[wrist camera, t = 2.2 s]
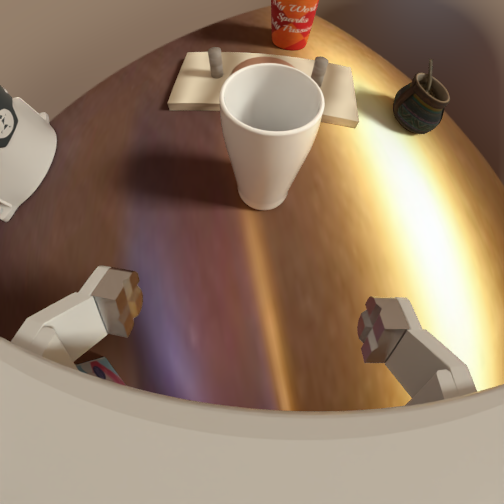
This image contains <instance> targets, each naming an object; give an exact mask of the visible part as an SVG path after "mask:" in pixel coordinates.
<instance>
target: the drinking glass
mask: <svg viewBox="0 0 504 504" xmlns="http://www.w3.org/2000/svg"><path fill="white" fill-rule="evenodd" d="M219 102H220V117H221V126H222V132H223V137H224V141H225V145H226V148H227V152H228V155H229V158H230V161H231V165H232V168H233V171H234V175H235V178H236V182H237V187H238V192H239V195H240V197H241V199H242V200H243V201H244V203H246V204H247V205H248V206H250V207H251V208H254V209H257V210H270V209H273V208H275V207H277V206H279V205H280V204H281V203H282V202H283V201H284V199H285V198H286V196H287V193H288V190H289V188H290V186H291V184H292V183H293V181H294V179H295V177H296V175H297V173H298V172H299V170H300V168H301V166H302V164H303V163H304V161H305V159H306V157H307V155H308V153H309V151H310V149H311V147H312V145H313V143H314V140H315V138H316V135H317V132H318V129H319V126H320V123H321V119H322V115H323V111H324V107H325V101H324V96H323V93H322V91H321V89H320V87H319V86H318V84H317V83H316V82H315V81H314V80H313V79H312V78H311V77H310V76H308V75H307V74H305V73H304V72H302V71H300V70H298V69H296V68H293V67H290V66H287V65H283V64H277V63H260V64H254V65H250V66H246V67H244V68H241V69H239V70H237V71H236V72H234V73H233V74H232V75H230V76H229V77H228V78H227V79H226V81H225V82H224V83H223V85H222V87H221V90H220V94H219Z"/></svg>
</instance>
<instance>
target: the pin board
mask: <svg viewBox="0 0 504 504" xmlns="http://www.w3.org/2000/svg"><path fill="white" fill-rule="evenodd" d="M260 63H277V64H283V65H287V66H290V67H293V68H296V69H298V70H300V71H302V72H304V73H305V74H307V75H308V76H310V77H311V78H312V79H313V80H314V81H315V82H316V83H317V84H318V86H319V87H320V89H321V91H322V93H323V96H324V101H325V107H324V111H323V115H322V119H321V122H325V123H331V124H336V125H342V126H347V127H351V128H356V126H357V124H358V122H359V119H358V111H357V104H356V96H355V90H354V84H353V78H352V72H351V68H350V67H345V66H341V65H336V64H331V63H328V60H327V59H326V58H324V57H316V59H315V60H309V59H303V58H296V57H288V56H280V55H270V54H258V53H241V52H221V49H220V48H218V47H213V48H210V49H209V50H208V52H189V53H187V55H186V58H185V60H184V62H183V65H182V67H181V69H180V72H179V74H178V77H177V79H176V82H175V84H174V87H173V90H172V92H171V95H170V98H169V100H168V103H167V104H168V107H169V109H170V110H203V111H220V102H219V94H220V90H221V87H222V85H223V83H224V82H225V81H226V79H227V78H228V77H229V76H230V75H232V74H233V73H234V72H236V71H237V70H239V69H241V68H244V67H246V66H250V65H254V64H260Z"/></svg>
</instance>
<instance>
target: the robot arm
mask: <svg viewBox="0 0 504 504" xmlns="http://www.w3.org/2000/svg"><path fill="white" fill-rule="evenodd" d="M56 143H57V139H56V133H55V131H54V129H53V128H52V127H51V126H50V124H49V116H48V114H46V113H45V112H42V113H40V114H38V113H37V112H36V111H35V110H34V109H33V108H31V107H30V106H29V105H28V104H27V103H26V102H24V101H23V100H22V99H21V98H19V97H16V98H13V99H12V97H11V96H10V95H9V94H8V92H7V91H6V89H5V88H3V87H1V86H0V219H1V220H2V221H4V222H7V221H9V220H10V218H11V217H12V216H13V214H14V213H15V211H16V209H17V208H18V207H19V206H20V205H21V204H22V203H23V202H24V201H25V200H26V199H27V198H29V197H30V196H31V194H32V193H33V192H34V191H35V190H36V189H37V187H38V186H39V185H40V183H41V182H42V180H43V178H44V177H45V175H46V173H47V171H48V169H49V167H50V165H51V163H52V160H53V157H54V154H55V150H56ZM138 282H139V277H138V273H137V272H135V271H131V270H125V269H119V268H114V267H107V266H98V267H97V268H96V269H95V271H94V272H93V273H92V275H91V276H90V277H89V279H88V280H87V281H86V283H85V284H84V285H83V287H82V288H81V290H80V291H79V292H78V293H76V292H74V293H73V294H71V295H69V296H67V297H65V298H63V299H61V300H59V301H57V302H56V303H54V304H52V305H50V306H48V307H46V308H45V309H43V310H41V311H39V312H37V313H36V314H34V315H32V316H30V317H28V318H27V319H26V320H25V322H24V323H23V325H22V326H21V327H20V329H19V330H18V332H17V333H16V335H15V336H14V338H13V339H12V341H11V342H10V341H8V340H6V339H4V338H2V337H0V504H504V384H502V385H499V386H496V387H492V388H489V389H485V390H482V391H478V392H477V390H476V388H475V385H474V382H473V380H472V377H471V375H470V372H469V370H468V367H467V365H466V364H464V363H463V362H462V361H461V360H460V359H459V358H458V357H457V356H456V355H454V354H453V353H452V352H451V351H450V350H449V349H448V348H446V347H445V346H444V345H443V344H442V343H441V342H440V341H438V340H437V339H436V338H435V337H434V336H433V335H431V334H430V333H429V332H428V331H427V330H422V327H421V325H420V323H419V320H418V318H417V316H416V314H415V312H414V309H413V307H412V305H411V303H410V301H409V299H407V298H398V297H395V298H391V297H374V296H370V297H369V299H368V300H367V302H366V304H365V305H366V308H367V310H366V311H364V312H363V313H361V316H360V318H359V321H358V327H357V328H358V336H359V339H360V340H361V341H362V342H363V343H364V344H363V346H362V348H361V350H362V354H363V358H364V363H385V365H386V366H387V367H388V369H389V370H390V371H391V372H392V374H393V375H394V376H395V377H396V379H397V380H398V381H399V382H400V384H401V385H402V386H403V387H404V389H405V390H406V391H407V392H408V394H409V395H410V396H411V398H412V399H411V400H410V401H409V402H408V403H407V404H406V405H405V406H400V407H391V408H381V409H369V410H354V411H280V410H264V409H252V408H242V407H233V406H224V405H217V404H210V403H203V402H197V401H191V400H186V399H180V398H175V397H170V396H166V395H161V394H156V393H152V392H148V391H144V390H140V389H136V388H132V387H128V386H125V385H121V384H118V383H114V382H111V381H108V380H104V379H101V378H98V377H95V376H92V375H89V374H86V373H83V372H80V371H79V370H78V368H77V367H76V365H75V364H74V361H75V360H76V359H78V358H79V357H80V356H81V355H83V354H84V353H85V352H86V351H88V350H89V349H90V348H91V347H93V346H94V345H95V344H96V343H98V342H99V341H100V340H101V339H103V338H104V337H105V336H106V335H107V333H108V334H113V335H118V336H123V337H128V336H129V334H130V332H131V330H132V328H133V326H134V322H133V318H135V317H136V316H138V315H139V313H140V311H141V308H142V302H143V295H142V290H141V289H140V288H139V287H138V286H137V284H138Z"/></svg>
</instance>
